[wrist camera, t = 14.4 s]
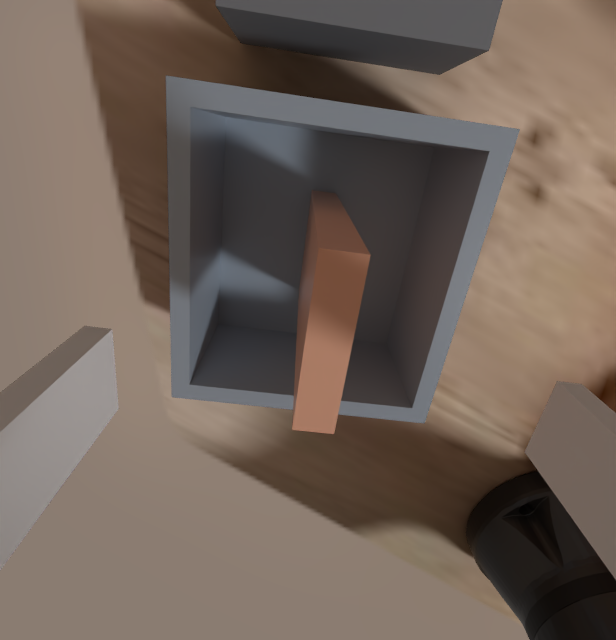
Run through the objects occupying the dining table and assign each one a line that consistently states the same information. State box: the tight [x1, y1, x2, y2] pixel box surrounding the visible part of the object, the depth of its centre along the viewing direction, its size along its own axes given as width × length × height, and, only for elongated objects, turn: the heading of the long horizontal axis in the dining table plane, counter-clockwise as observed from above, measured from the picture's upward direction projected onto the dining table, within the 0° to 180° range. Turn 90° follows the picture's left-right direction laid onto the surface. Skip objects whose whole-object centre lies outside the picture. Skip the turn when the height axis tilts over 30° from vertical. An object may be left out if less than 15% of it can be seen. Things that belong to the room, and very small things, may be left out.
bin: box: [166, 76, 520, 423], centre depth 24 cm, size 16×15×9 cm
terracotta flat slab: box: [292, 190, 371, 434], centre depth 20 cm, size 7×2×15 cm, turn 172°
